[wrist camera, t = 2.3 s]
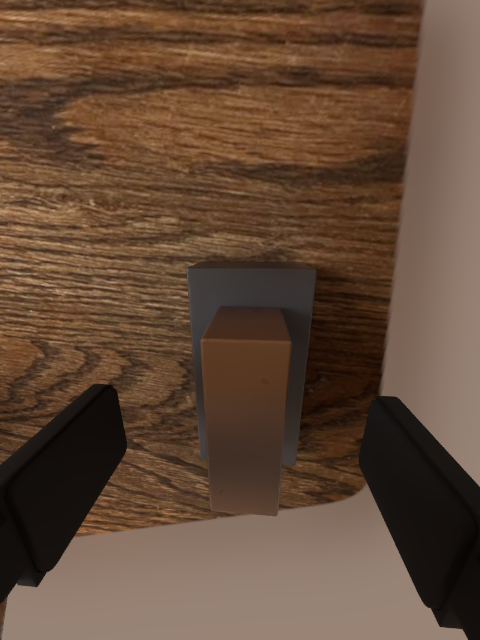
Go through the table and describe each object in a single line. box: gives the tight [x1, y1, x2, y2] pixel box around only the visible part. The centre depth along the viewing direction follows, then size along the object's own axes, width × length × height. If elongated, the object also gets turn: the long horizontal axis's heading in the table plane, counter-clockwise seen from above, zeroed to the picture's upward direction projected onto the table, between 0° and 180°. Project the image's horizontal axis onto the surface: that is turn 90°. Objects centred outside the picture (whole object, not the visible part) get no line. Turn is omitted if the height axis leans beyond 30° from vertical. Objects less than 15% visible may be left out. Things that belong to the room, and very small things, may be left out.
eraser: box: [187, 262, 317, 516], centre depth 10 cm, size 10×5×6 cm, turn 0°
